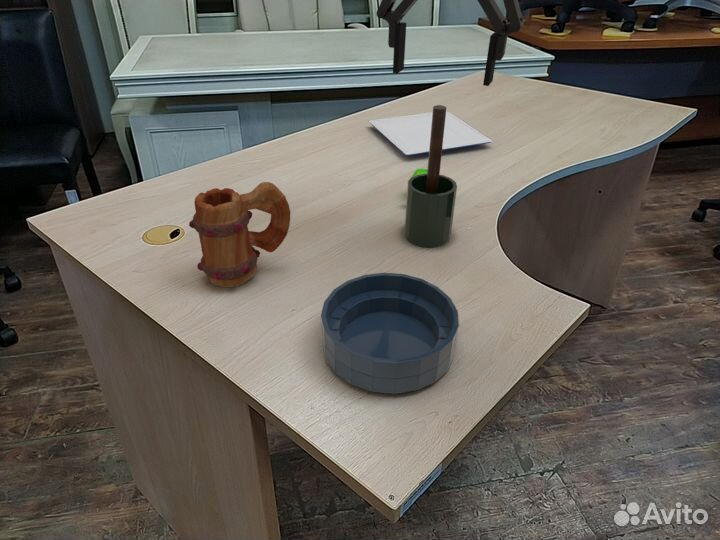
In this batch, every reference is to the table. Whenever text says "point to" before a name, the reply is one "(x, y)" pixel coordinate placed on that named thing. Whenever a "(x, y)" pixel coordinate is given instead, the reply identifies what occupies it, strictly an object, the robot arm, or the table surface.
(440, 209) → the holder
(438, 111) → the stick
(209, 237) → the mug
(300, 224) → the table surface
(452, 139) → the plate
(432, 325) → the bowl
